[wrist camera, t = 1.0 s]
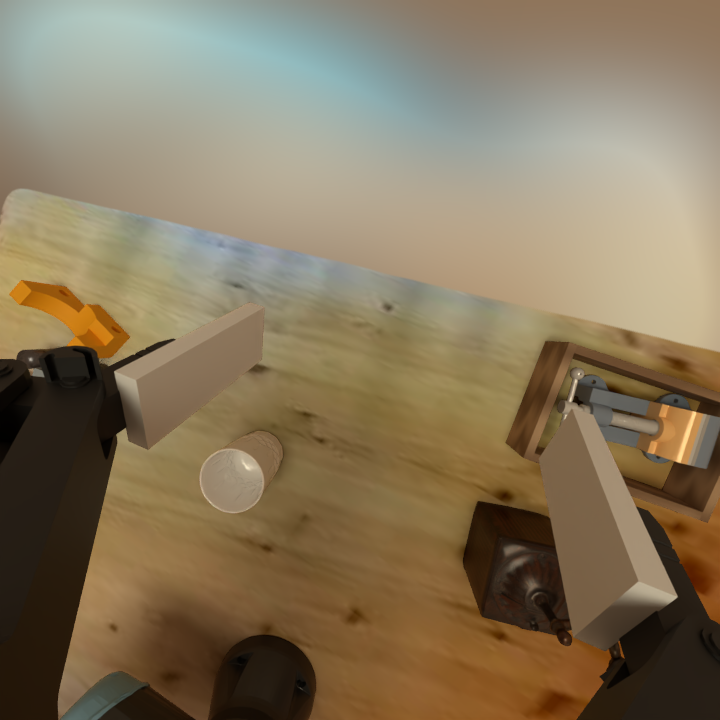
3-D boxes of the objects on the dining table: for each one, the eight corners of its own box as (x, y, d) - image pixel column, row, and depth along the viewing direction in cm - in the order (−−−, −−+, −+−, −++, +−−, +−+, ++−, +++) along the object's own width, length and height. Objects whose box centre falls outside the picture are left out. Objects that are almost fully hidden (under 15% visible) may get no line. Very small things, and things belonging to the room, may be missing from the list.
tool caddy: (666, 499, 47) (707, 522, 41) (505, 442, 48) (523, 457, 42) (711, 397, 46) (760, 406, 40) (545, 341, 47) (569, 342, 41)
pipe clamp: (131, 337, 51) (94, 337, 44) (112, 357, 51) (73, 360, 45) (74, 278, 51) (29, 270, 44) (55, 299, 51) (9, 294, 45)
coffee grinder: (459, 570, 50) (502, 702, 32) (476, 498, 49) (530, 592, 31) (567, 595, 49) (673, 744, 31) (586, 522, 48) (707, 633, 30)
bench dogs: (108, 383, 51) (78, 388, 46) (50, 362, 52) (14, 365, 47) (112, 367, 51) (83, 370, 46) (54, 346, 51) (19, 347, 46)
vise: (688, 394, 46) (740, 404, 40) (666, 466, 47) (712, 488, 40) (555, 363, 47) (583, 368, 40) (535, 435, 48) (559, 451, 41)
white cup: (244, 418, 50) (210, 439, 40) (294, 437, 50) (272, 462, 40) (228, 467, 51) (190, 499, 41) (277, 486, 51) (251, 523, 41)
